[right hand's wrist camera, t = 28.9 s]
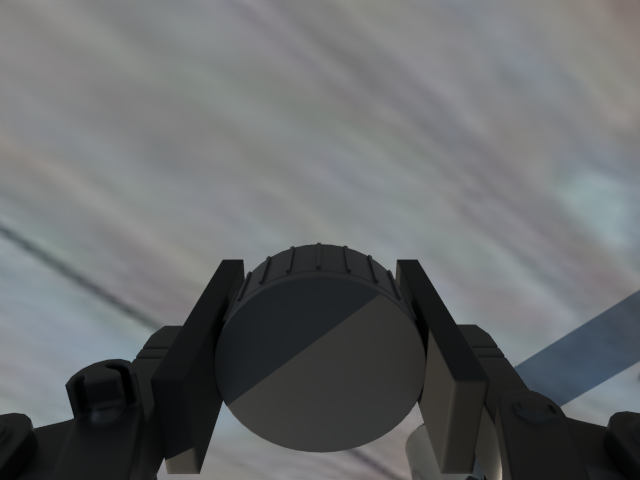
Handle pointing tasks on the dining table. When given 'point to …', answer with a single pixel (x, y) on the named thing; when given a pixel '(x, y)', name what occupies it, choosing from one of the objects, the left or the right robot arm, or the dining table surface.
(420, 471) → the thermos
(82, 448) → the right robot arm
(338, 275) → the lid
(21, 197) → the dining table surface
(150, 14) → the dining table surface
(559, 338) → the dining table surface
